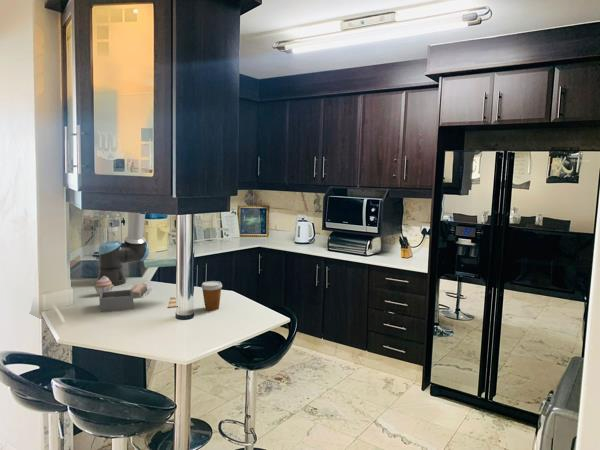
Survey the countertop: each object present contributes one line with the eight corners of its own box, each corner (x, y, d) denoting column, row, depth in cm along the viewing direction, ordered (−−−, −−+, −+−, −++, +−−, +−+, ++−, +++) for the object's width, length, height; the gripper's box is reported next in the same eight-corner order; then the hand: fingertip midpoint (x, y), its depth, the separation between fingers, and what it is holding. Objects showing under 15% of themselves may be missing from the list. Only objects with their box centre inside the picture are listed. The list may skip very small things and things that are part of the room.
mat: (141, 301, 221) (141, 300, 221) (179, 297, 228) (179, 296, 228) (143, 310, 207) (143, 309, 207) (183, 306, 213) (183, 305, 213)
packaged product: (143, 291, 223) (122, 291, 222) (143, 300, 224) (122, 301, 223) (151, 282, 241) (132, 282, 240) (151, 291, 241) (132, 291, 240)
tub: (101, 306, 212) (100, 292, 211) (132, 303, 217) (132, 289, 216) (100, 314, 201) (99, 299, 200) (133, 310, 206) (133, 295, 205)
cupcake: (95, 298, 225) (94, 278, 224) (93, 294, 234) (92, 275, 232) (115, 296, 230) (114, 276, 229) (113, 291, 238) (112, 273, 237)
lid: (143, 262, 218) (143, 252, 217) (186, 259, 225) (185, 249, 225) (145, 267, 206) (144, 257, 206) (189, 264, 213) (189, 254, 213)
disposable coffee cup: (216, 312, 204) (215, 286, 203) (197, 310, 207) (197, 284, 206) (226, 306, 213) (225, 281, 212) (208, 304, 216) (207, 280, 215)
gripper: (172, 217, 223) (173, 264, 225) (176, 221, 207) (178, 271, 210) (187, 217, 225) (189, 263, 228) (193, 220, 210) (194, 270, 213)
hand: (183, 267), depth 219 cm, fingers closed on lid, 3 cm apart
